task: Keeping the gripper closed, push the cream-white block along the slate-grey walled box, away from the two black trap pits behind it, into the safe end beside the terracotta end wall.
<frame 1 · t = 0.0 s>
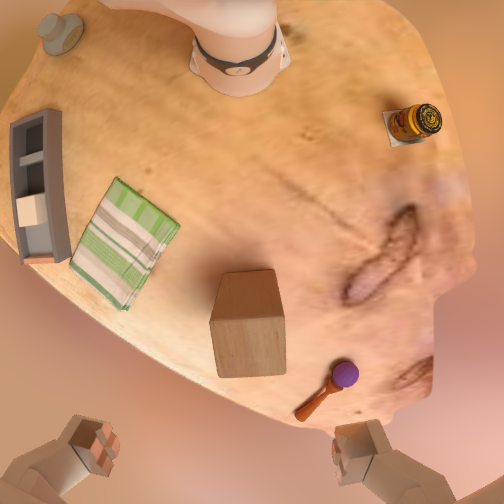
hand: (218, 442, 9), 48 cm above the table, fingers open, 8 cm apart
cream block: (37, 208, 51), point 3 cm above the table, touching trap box
condiment: (403, 127, 50), on the table
air freshener: (69, 38, 44), on the table
purple and brown maraca: (323, 386, 65), on the table
wooden block: (250, 294, 59), on the table
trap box: (43, 187, 53), on the table
dish towel: (121, 245, 57), on the table
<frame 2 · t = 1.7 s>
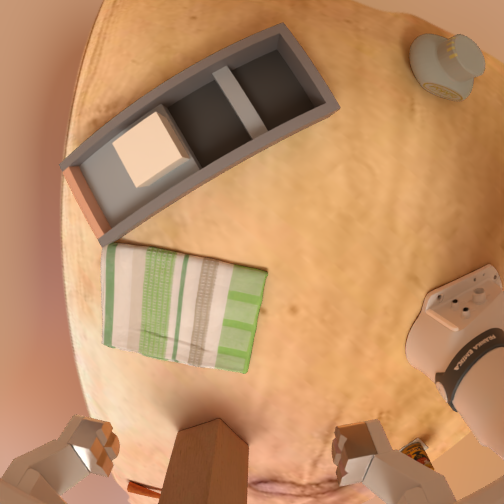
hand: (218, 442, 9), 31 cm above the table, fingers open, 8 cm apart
cream block: (157, 151, 33), point 3 cm above the table, touching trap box
condiment: (410, 450, 51), on the table
air freshener: (432, 72, 32), on the table
purple and brown maraca: (167, 490, 55), on the table
wooden block: (213, 438, 48), on the table
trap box: (194, 134, 35), on the table
dish towel: (178, 307, 42), on the table
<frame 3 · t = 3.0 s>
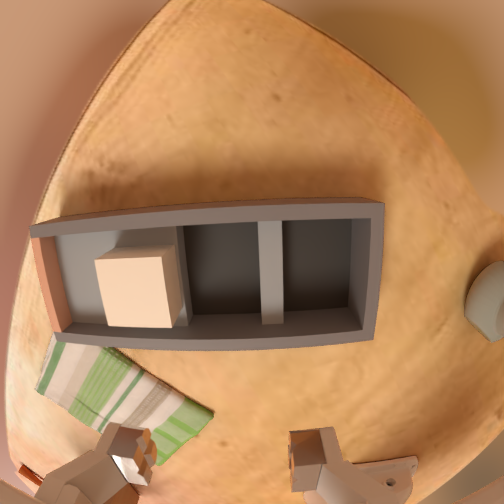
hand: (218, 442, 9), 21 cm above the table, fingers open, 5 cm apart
cream block: (147, 277, 26), point 3 cm above the table, touching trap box
air freshener: (482, 293, 30), on the table
purple and brown maraca: (53, 485, 46), on the table
wooden block: (111, 480, 41), on the table
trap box: (200, 266, 29), on the table
dish towel: (117, 396, 35), on the table
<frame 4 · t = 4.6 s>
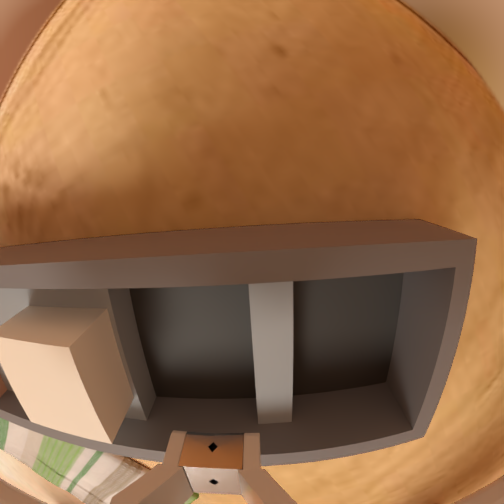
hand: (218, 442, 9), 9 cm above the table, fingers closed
cream block: (78, 353, 15), point 3 cm above the table, touching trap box
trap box: (159, 332, 17), on the table
dish towel: (82, 461, 23), on the table
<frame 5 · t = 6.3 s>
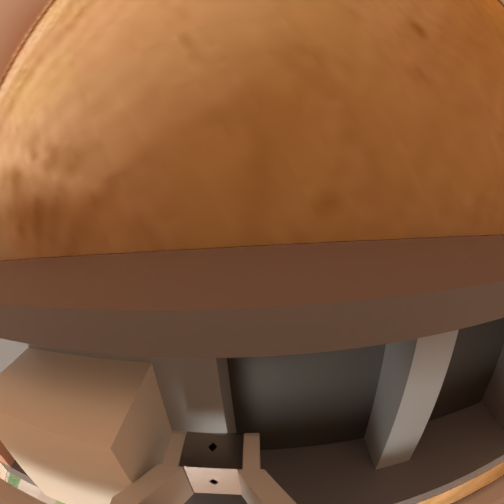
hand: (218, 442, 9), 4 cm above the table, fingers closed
cream block: (103, 412, 10), point 3 cm above the table, touching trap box
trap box: (257, 378, 13), on the table
dish towel: (114, 502, 19), on the table
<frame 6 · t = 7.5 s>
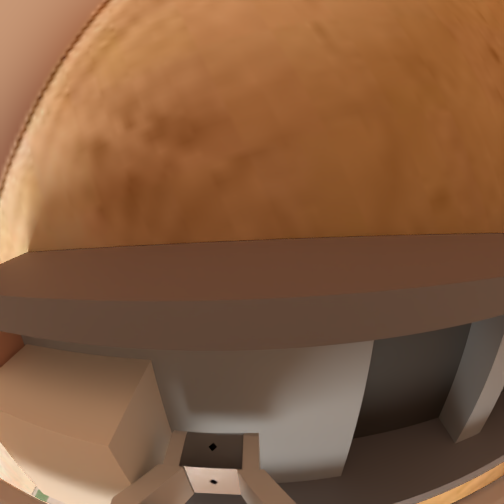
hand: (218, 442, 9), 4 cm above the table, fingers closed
cream block: (101, 410, 10), point 3 cm above the table, touching gripper, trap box
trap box: (365, 365, 13), on the table
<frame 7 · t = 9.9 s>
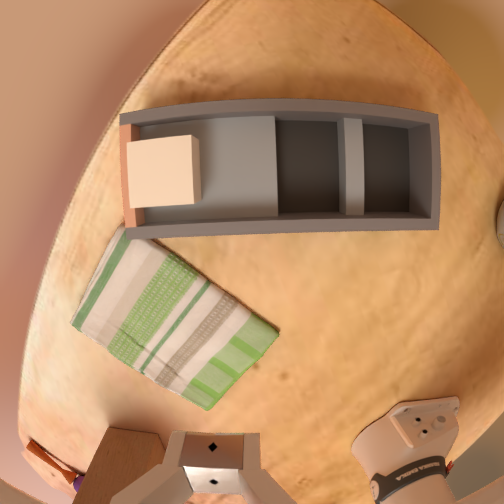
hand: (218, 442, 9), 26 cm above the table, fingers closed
cream block: (170, 172, 28), point 3 cm above the table, touching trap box
purple and brown maraca: (64, 462, 47), on the table
wooden block: (140, 445, 43), on the table
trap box: (285, 166, 31), on the table
dish towel: (169, 323, 37), on the table
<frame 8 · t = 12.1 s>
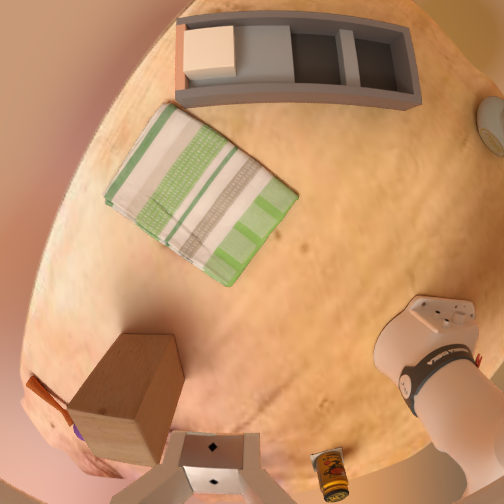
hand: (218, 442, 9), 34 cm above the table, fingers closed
cream block: (212, 58, 33), point 3 cm above the table, touching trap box
condiment: (327, 459, 55), on the table
air freshener: (488, 127, 37), on the table
purple and brown maraca: (66, 403, 52), on the table
wooden block: (153, 357, 47), on the table
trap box: (298, 63, 35), on the table
dish towel: (197, 193, 41), on the table
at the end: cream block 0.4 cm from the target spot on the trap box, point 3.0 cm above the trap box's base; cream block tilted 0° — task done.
